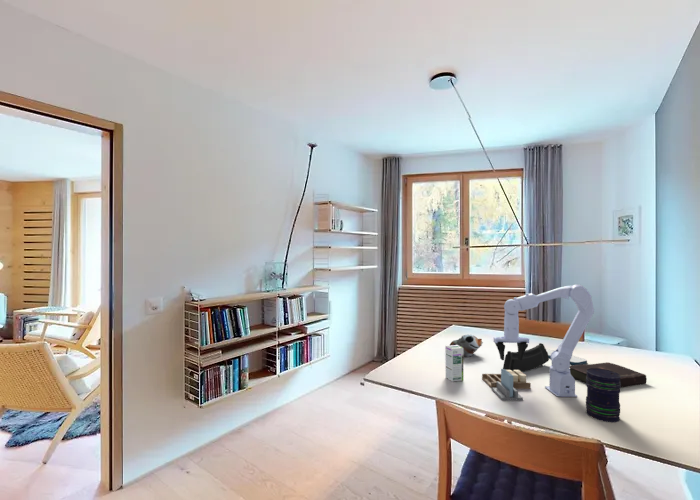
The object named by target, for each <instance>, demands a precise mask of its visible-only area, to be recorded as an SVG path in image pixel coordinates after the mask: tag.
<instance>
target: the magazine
mask: <svg viewBox="0 0 700 500" xmlns="http://www.w3.org/2000/svg"><path fill="white" fill-rule="evenodd" d="M546 349H547V348H546V347H545V344H544V343H541V342H539V343H538V345H536V346H534V347H532V348H529V349H526V350H525V352H524V354H523V357H522V360H519V359H518V351H510V350H509V351H507V352H506V354H505V355H504V360H503V367H502V369H505V370H512V371H513V370H520V371H521V372H522V373H524V372H530V371H531V370H535V369H537V368H539V367H543V365H544V364H546V363H547V362H549V361H550V358H549V357H548V352H547V351H546Z"/></svg>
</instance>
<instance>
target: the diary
mask: <svg viewBox="0 0 700 500" xmlns="http://www.w3.org/2000/svg"><path fill="white" fill-rule="evenodd" d="M590 368H598V369H605V370H610V371H613V372H616V373H618V374H619V375H620V383H621V387H620V388H628V387H633V386H640V384H641V385H646V384H647V379H648V378H647V375H646V374H645V373H642V372H638V371H635V370H633V369H630V368H628V367H625V366H623V365H619V364H615V363H612V362H600V363H599V362H598V363H590V364H584V365H570V367H569V369H570V374H571V375H572V376H573V378H574V379H575V381H578V382H581V383H584V384H586V377H587V369H590Z"/></svg>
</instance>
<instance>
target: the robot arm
mask: <svg viewBox="0 0 700 500" xmlns="http://www.w3.org/2000/svg"><path fill="white" fill-rule="evenodd" d="M592 297H593V296H592V295H591V293H590V292H589V291H588V289H587V288H586V287H584V286H583V285H582V284H579V283H577V284H575V283H574V284H572V285H565V286H561V287H557V288H554V289H552V290H548V291H544V292H541V293H539V294H534V293H529V292H527V293H524V295H521V296H518V297H517V296H515V297H513V299H512V298H511V299H510V298H509V299H507V300H506V301H505V302H504V305H503V309H504V317H503V336H496V337H493V343H494V344H495V346H496V348H497V350H498V354H499V359H500V360H501V361H504V360H505V349H506V345H505V344H506V343H509V344H510V343H514V344H517V345H516V346H517V352H518V359H519V360H522V357H523V354H524V352H525V351H526V350H527V348H528V346H529V344H530V338H529V337H523V336H519V335H520V331H519V329H520V325H519V324H520V316H519V311H527V310H530V309H533V308H537V307H538V306H539V304H540V303H543V302H547V301H551V300H555V299H559V298H561V299H567V300H569V299H570V298H571V300H572V301H573V302H574V304H575V305H576V307H577V312H576V314H575V316H574V318H573V320H572V322H571V324H570V326H569V328H567V329H568V330H567V331H566V333H565V335H564V337H563V339H562V341H561V342H560V344H559V345H558V346H557V348H556V349H554V352H552V354H551V359H550V361H551V365H550V366H549V385H547V386H544V388H545V389H546V390H548V391H549V392H550V393H551V394H553V395H555V396H556V397H569V398H571V397H573V398H575V397H576V398H577V397H578V395H577V394H576V379H574V378H573V376H572V375H571V374H570V368H569V367H570V366H571V365H570V359H571V357H572V356H573V352H574V350H575V348H576V347H577V345H578V343H579V341H580V339H581V338H582V335H583V333H584V332H585V330H586V328H587V327H588V326H587V325H588V324H589V322H590V321H591V318H592V317H593V314H594V312H595V308H594V304H593V298H592Z"/></svg>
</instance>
